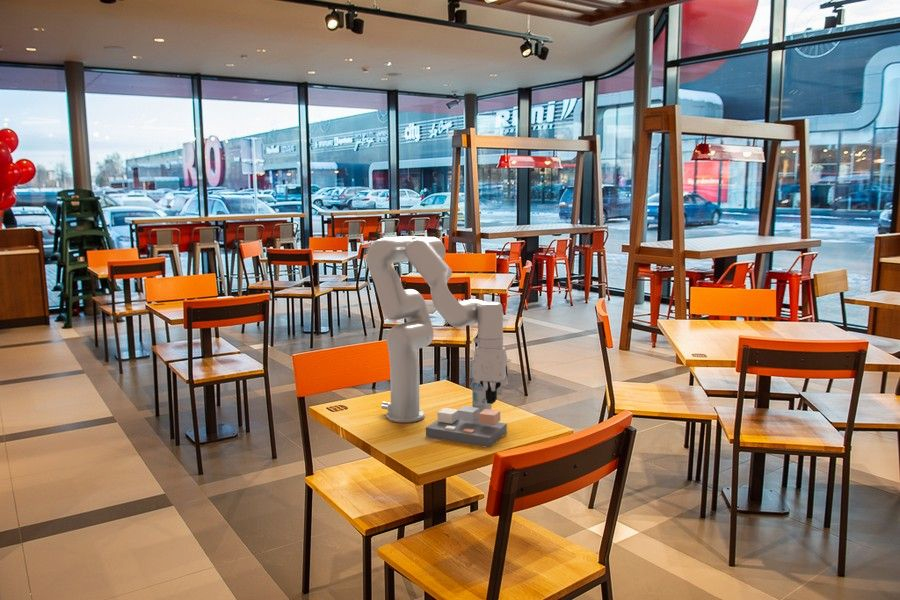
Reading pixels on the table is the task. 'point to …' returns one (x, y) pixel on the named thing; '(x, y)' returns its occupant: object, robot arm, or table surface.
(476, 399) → the spray can
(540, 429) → the table surface
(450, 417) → the cream key
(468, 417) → the grey key
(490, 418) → the terracotta key
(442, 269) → the robot arm
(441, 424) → the key pad
